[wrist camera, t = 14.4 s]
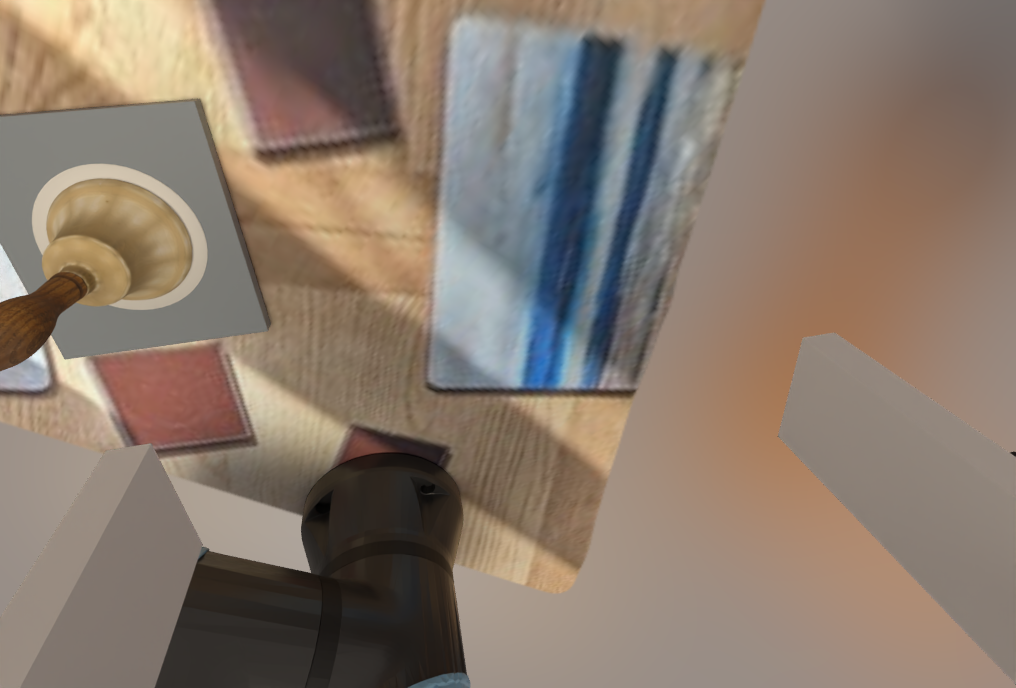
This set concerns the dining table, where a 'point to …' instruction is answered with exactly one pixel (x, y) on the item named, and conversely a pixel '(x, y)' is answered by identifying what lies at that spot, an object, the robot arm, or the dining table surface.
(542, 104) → the dining table surface
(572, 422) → the dining table surface
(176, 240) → the hand bell
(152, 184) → the board
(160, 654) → the robot arm
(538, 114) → the dining table surface
